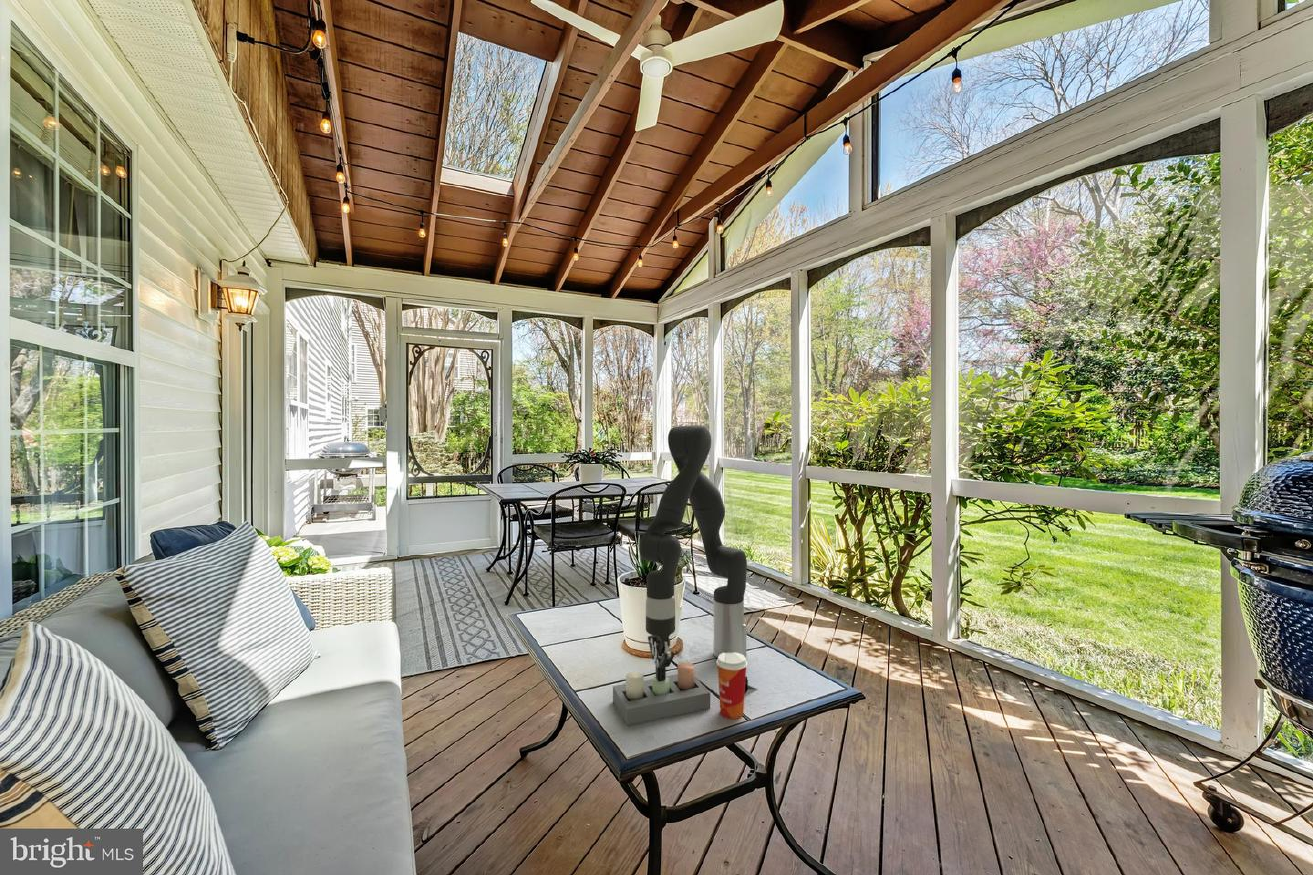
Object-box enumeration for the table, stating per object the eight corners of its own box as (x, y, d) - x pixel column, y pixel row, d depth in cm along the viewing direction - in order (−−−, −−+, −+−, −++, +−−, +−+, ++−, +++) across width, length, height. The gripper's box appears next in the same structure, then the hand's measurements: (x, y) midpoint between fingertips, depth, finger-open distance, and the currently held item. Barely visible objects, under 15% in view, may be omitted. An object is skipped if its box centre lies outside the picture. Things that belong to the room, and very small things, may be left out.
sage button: (665, 693, 145) (665, 674, 145) (672, 701, 141) (672, 681, 141) (649, 696, 143) (649, 677, 143) (655, 704, 139) (655, 684, 139)
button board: (690, 686, 152) (690, 671, 152) (710, 708, 140) (710, 692, 140) (613, 701, 144) (612, 686, 144) (626, 725, 133) (626, 709, 133)
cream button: (640, 689, 142) (640, 670, 142) (646, 697, 138) (645, 677, 138) (623, 692, 141) (623, 673, 141) (629, 700, 137) (629, 680, 137)
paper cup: (713, 705, 142) (713, 651, 141) (743, 704, 142) (743, 650, 142) (719, 722, 134) (719, 665, 133) (751, 720, 135) (751, 664, 134)
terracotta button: (690, 679, 147) (690, 661, 147) (697, 687, 143) (697, 668, 143) (675, 682, 146) (674, 664, 146) (681, 690, 142) (681, 671, 141)
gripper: (684, 619, 136) (684, 689, 137) (664, 602, 149) (664, 666, 149) (655, 623, 134) (655, 694, 134) (638, 606, 146) (638, 670, 147)
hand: (660, 679), depth 142 cm, fingers closed
